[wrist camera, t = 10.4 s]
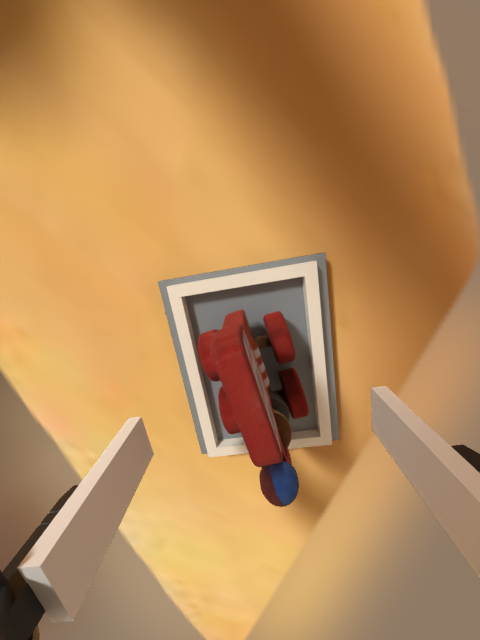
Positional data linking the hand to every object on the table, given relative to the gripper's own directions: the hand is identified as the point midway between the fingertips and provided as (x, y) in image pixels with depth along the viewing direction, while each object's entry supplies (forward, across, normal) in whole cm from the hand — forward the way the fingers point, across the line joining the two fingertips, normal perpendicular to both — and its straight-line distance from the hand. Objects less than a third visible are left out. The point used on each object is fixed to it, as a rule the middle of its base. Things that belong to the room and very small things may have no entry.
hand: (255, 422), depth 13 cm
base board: (+9, 0, -1) cm, 9 cm away
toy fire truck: (+8, 0, 0) cm, 8 cm away
